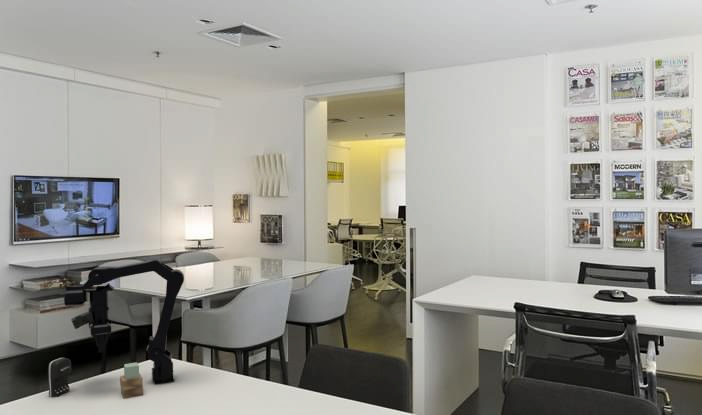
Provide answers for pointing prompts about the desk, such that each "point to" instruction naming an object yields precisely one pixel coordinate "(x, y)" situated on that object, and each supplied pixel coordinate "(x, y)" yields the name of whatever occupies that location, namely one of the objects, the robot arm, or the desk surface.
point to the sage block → (131, 371)
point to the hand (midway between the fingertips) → (99, 349)
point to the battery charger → (58, 376)
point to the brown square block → (131, 382)
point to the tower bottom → (132, 392)
